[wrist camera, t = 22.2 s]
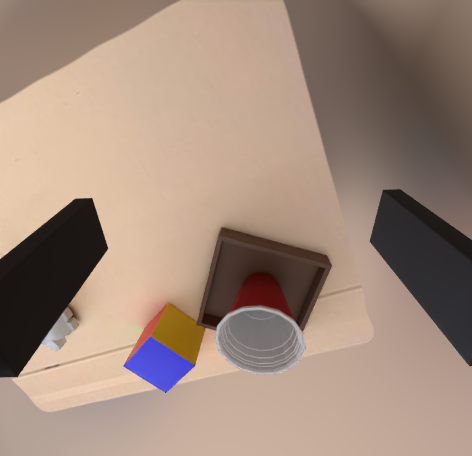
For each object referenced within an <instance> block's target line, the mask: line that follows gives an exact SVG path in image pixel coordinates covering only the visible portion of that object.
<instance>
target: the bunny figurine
mask: <svg viewBox="0 0 472 456" xmlns="http://www.w3.org/2000/svg"><path fill="white" fill-rule="evenodd" d="M72 315H73V314H72V312H71V310H70V309H69V307H68V308H66V309H65V310H64V312H63V313H62V315H61V316H60V317H59V319H58V320H57V322H56V323H55V325H54V326H53V327H52V329H51V330H50V332H49V333H48V334H47V336H46V337H45V339H44V340H43V342H42V343H41V344H43V345H45V346H47V347H49V348H51V349H53V350H55V351H58V350H60V349H61V348H62V347H63V345H64V344H65V343H66V338H65V336H66V335H67V334H69V333H70V332H72V331H74V330H75V329H76V328H77V327H78V326H79V323H78V322H77V320H76V319H75V318H74V317H71V316H72Z"/></svg>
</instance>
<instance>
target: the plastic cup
mask: <svg viewBox="0 0 472 456" xmlns="http://www.w3.org/2000/svg"><path fill="white" fill-rule="evenodd" d="M215 341H216V344H217V348H218V351H219V352H220V353H221V354H222V356H223V357H224V358H225V359H226V360H227V361H228V362H229V363H231V364H232V365H234V366H236V367H237V368H239V369H241V370H243V371H247V372H251V373H255V374H277V373H280V372H283V371H286V370H289V369H291V368H292V367H293V366H294V365H295V364H297V363H298V362H299V361H300V360H301V358H302V356H303V353H304V351H305V349H306V347H305V340H304V334H303V332H302V330H301V329H300V328H299V326H298V325H297V323H296V322H295V319H294V317H293V315H292V313H291V311H290V308H289V306H288V303H287V301H286V298H285V296H284V293H283V292H282V290H281V287H280V285H279V283H278V282H277V280H276V279H275V278H274V277H273V276H271V275H270V274H268V273H263V272H258V273H253V274H251V275H250V276H248V277H247V278H246V280H245V281H244V282H243V284H242V286H241V289H240V290H239V292H238V294H237V296H236V298H235V301H234V303H233V305H232V307H231V310H230V311H229V312H228V314H227V315H226V316H225V317H224V318H223V320H222V321H221V322H220V323H219V324H218V325H217V330H216V334H215Z"/></svg>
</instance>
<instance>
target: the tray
mask: <svg viewBox="0 0 472 456" xmlns="http://www.w3.org/2000/svg"><path fill="white" fill-rule="evenodd" d="M331 267H332V265H331V263H330V261H329V259H328V257H327V256H326V255H322V254H319V253H315V252H311V251H308V250H304V249H300V248H296V247H293V246H289V245H285V244H281V243H278V242H274V241H270V240H266V239H263V238H259V237H255V236H251V235H248V234H244V233H240V232H236V231H233V230H229V229H225V228H221V231H220V233H219V236H218V240H217V244H216V248H215V252H214V256H213V260H212V264H211V268H210V272H209V276H208V280H207V284H206V288H205V293H204V297H203V301H202V305H201V309H200V313H199V317H198V321H197V326H201V327H205V328H209V329H212V330H217V325H218V324H219V323H220V322H221V321H222V320H223V318H224V317H225V316H226V315H227V314H228V312H229V311H230V310H231V307H232V305H233V303H234V301H235V298H236V296H237V294H238V292H239V290H240V289H241V286H242V284H243V282H244V281H245V280H246V278H247V277H248V276H250V275H251V274H253V273H258V272H263V273H268V274H270V275H271V276H273V277H274V278H275V279H276V280H277V282H278V283H279V285H280V287H281V290H282V292H283V293H284V296H285V298H286V301H287V303H288V306H289V308H290V311H291V313H292V315H293V317H294V319H295V322H296V323H297V325H298V326H299V328H300V329H301V330H302V332H303V330H304V328H305V325H306V323H307V321H308V319H309V316H310V314H311V312H312V310H313V307H314V305H315V303H316V301H317V298H318V296H319V294H320V292H321V289H322V287H323V285H324V283H325V280H326V278H327V276H328V273H329V271H330V269H331Z"/></svg>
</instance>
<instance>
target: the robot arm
mask: <svg viewBox="0 0 472 456" xmlns="http://www.w3.org/2000/svg"><path fill="white" fill-rule="evenodd" d="M370 242H371V244H372V245H373V246H374V247H375V249H376V250H377V251H378V252H379V254H380V255H381V256H382V257H383V259H384V260H385V261H386V262H387V264H388V265H389V266H390V267H391V269H392V270H393V271H394V272H395V274H396V275H397V276H398V277H399V279H400V280H401V281H402V282H403V284H404V285H405V286H406V287H407V289H408V290H409V291H410V292H411V294H412V295H413V296H414V297H415V299H416V300H417V301H418V303H419V304H420V305H421V306H422V307H423V309H424V310H425V311H426V312H427V314H428V315H429V316H430V317H431V319H432V320H433V321H434V323H435V324H436V325H437V326H438V328H439V329H440V330H441V331H442V332H443V334H444V335H445V336H446V337H447V339H448V340H449V341H450V342H451V344H452V345H453V346H454V347H455V349H456V350H457V351H458V353H459V354H460V355H461V356H462V358H463V359H464V360H465V361H466V363H467V364H468V365H469V366H472V240H471V239H469V238H468V237H467V236H465V235H464V234H462V233H461V232H460V231H458V230H457V229H455V228H454V227H453V226H451V225H450V224H448V223H447V222H445V221H444V220H443V219H441V218H440V217H438V216H437V215H436V214H434V213H433V212H431V211H430V210H429V209H427V208H426V207H424V206H423V205H421V204H420V203H419V202H417V201H416V200H414V199H413V198H412V197H410V196H409V195H407V194H406V193H405V192H403V191H402V190H399V189H397V190H383V192H382V196H381V200H380V204H379V207H378V212H377V215H376V219H375V223H374V227H373V231H372V235H371V238H370ZM107 250H108V246H107V243H106V240H105V237H104V234H103V231H102V227H101V224H100V221H99V218H98V215H97V212H96V208H95V205H94V202H93V199H92V198H83V199H74V200H73V201H72V202H71V203H70V204H68V205H67V206H66V207H65V208H63V209H62V210H61V211H60V212H58V213H57V214H56V215H55V216H53V217H52V218H51V219H50V220H48V221H47V222H46V223H45V224H43V225H42V226H41V227H40V228H38V229H37V230H36V231H35V232H33V233H32V234H31V235H30V236H28V237H27V238H26V239H25V240H24V241H22V242H21V243H20V244H19V245H17V246H16V247H15V248H14V249H12V250H11V251H10V252H9V253H7V254H6V255H5V256H4V257H2V258H1V259H0V377H18V375H19V374H20V373H21V371H22V370H23V368H24V367H25V366H26V364H27V363H28V361H29V360H30V358H31V357H32V356H33V354H34V353H35V351H36V350H37V349H38V347H39V346H40V344H41V343H42V342H43V340H44V339H45V337H46V336H47V334H48V333H49V332H50V330H51V329H52V327H53V326H54V325H55V323H56V322H57V320H58V319H59V317H60V316H61V315H62V313H63V312H64V310H65V309H66V308H67V306H68V305H69V303H70V302H71V301H72V299H73V298H74V296H75V295H76V293H77V292H78V291H79V289H80V288H81V286H82V285H83V284H84V282H85V281H86V279H87V278H88V277H89V275H90V274H91V272H92V271H93V269H94V268H95V267H96V265H97V264H98V262H99V261H100V260H101V258H102V257H103V255H104V254H105V252H106V251H107Z"/></svg>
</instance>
